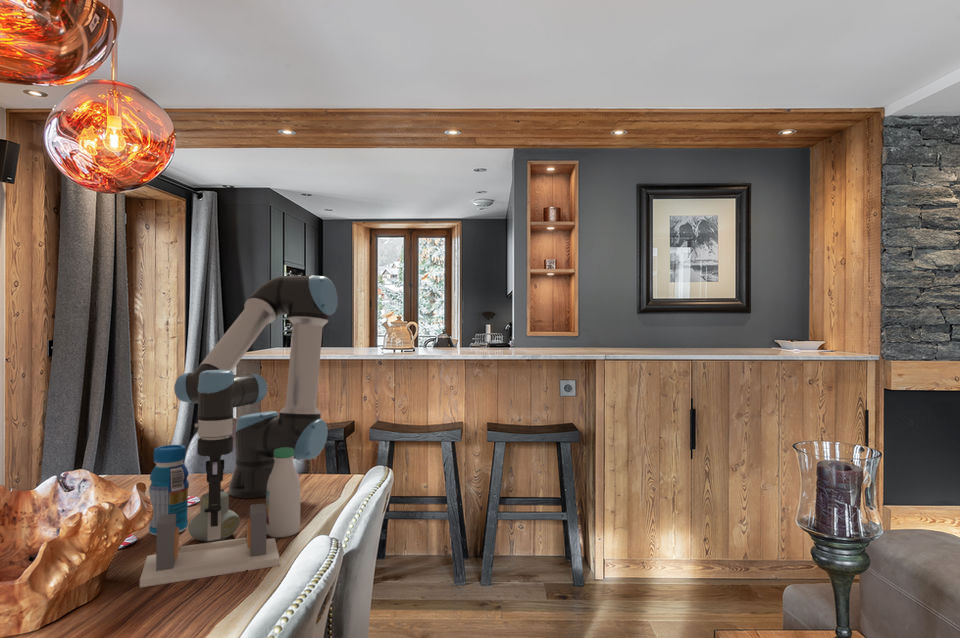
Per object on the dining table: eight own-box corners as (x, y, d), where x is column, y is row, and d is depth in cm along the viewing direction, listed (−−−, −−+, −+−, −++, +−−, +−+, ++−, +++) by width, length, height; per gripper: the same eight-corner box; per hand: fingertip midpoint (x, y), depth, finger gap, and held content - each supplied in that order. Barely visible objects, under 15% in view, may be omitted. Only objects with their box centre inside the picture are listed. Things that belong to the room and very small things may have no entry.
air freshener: (215, 527, 139) (216, 486, 139) (244, 531, 137) (245, 489, 137) (181, 544, 128) (182, 500, 128) (212, 548, 126) (213, 503, 126)
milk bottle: (306, 528, 138) (307, 446, 138) (286, 540, 131) (286, 454, 131) (280, 523, 141) (281, 443, 141) (258, 535, 134) (259, 451, 133)
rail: (147, 563, 118) (148, 512, 118) (274, 544, 129) (275, 498, 129) (139, 587, 107) (140, 531, 108) (279, 565, 118) (280, 514, 118)
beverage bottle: (143, 538, 132) (144, 452, 132) (154, 526, 140) (155, 444, 140) (183, 535, 134) (185, 450, 134) (191, 523, 142) (192, 442, 142)
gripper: (199, 428, 142) (198, 517, 142) (195, 448, 121) (194, 551, 120) (232, 426, 145) (231, 513, 145) (233, 445, 124) (232, 546, 124)
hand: (214, 530), depth 133 cm, fingers closed on air freshener, 11 cm apart
